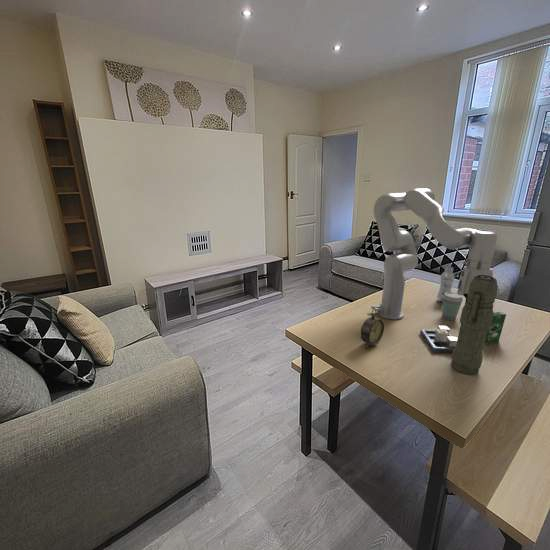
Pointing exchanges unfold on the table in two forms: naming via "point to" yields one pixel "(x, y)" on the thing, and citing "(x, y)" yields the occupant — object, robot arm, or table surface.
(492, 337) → the coffee box
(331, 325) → the table surface
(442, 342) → the panel
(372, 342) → the alarm clock
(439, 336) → the block
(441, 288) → the plastic bottle
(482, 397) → the table surface
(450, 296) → the coffee cup
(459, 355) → the thermos
